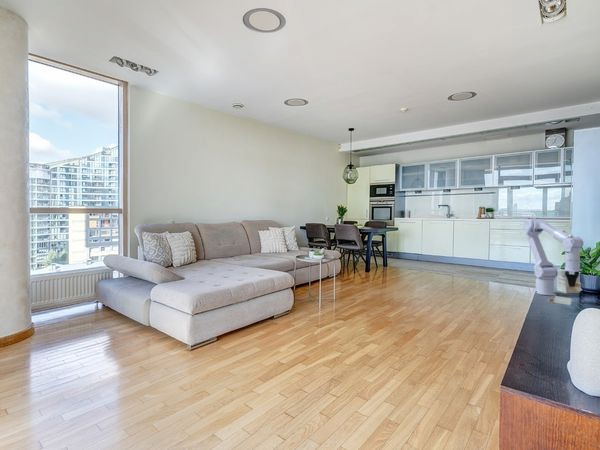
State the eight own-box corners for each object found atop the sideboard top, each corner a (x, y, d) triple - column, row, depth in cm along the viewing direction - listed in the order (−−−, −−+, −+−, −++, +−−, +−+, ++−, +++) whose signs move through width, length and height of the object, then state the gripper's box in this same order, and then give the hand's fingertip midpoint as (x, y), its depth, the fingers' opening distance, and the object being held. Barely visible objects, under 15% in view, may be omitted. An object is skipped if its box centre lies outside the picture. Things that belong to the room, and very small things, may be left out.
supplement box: (569, 290, 185) (570, 269, 184) (579, 293, 177) (580, 271, 177) (556, 290, 185) (556, 269, 185) (565, 293, 178) (566, 271, 178)
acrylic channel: (554, 302, 161) (554, 298, 161) (555, 299, 166) (555, 296, 166) (570, 305, 157) (570, 301, 156) (571, 302, 161) (571, 298, 161)
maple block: (567, 289, 162) (568, 282, 162) (567, 288, 165) (568, 281, 165) (580, 291, 158) (580, 284, 158) (580, 290, 161) (581, 282, 161)
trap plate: (547, 301, 163) (547, 301, 163) (548, 299, 168) (548, 298, 168) (554, 302, 161) (554, 302, 161) (554, 299, 166) (554, 299, 166)
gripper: (582, 262, 154) (582, 289, 154) (582, 259, 164) (582, 284, 165) (564, 261, 158) (563, 287, 159) (565, 258, 169) (564, 282, 170)
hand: (571, 285), depth 162 cm, fingers closed on maple block, 4 cm apart
